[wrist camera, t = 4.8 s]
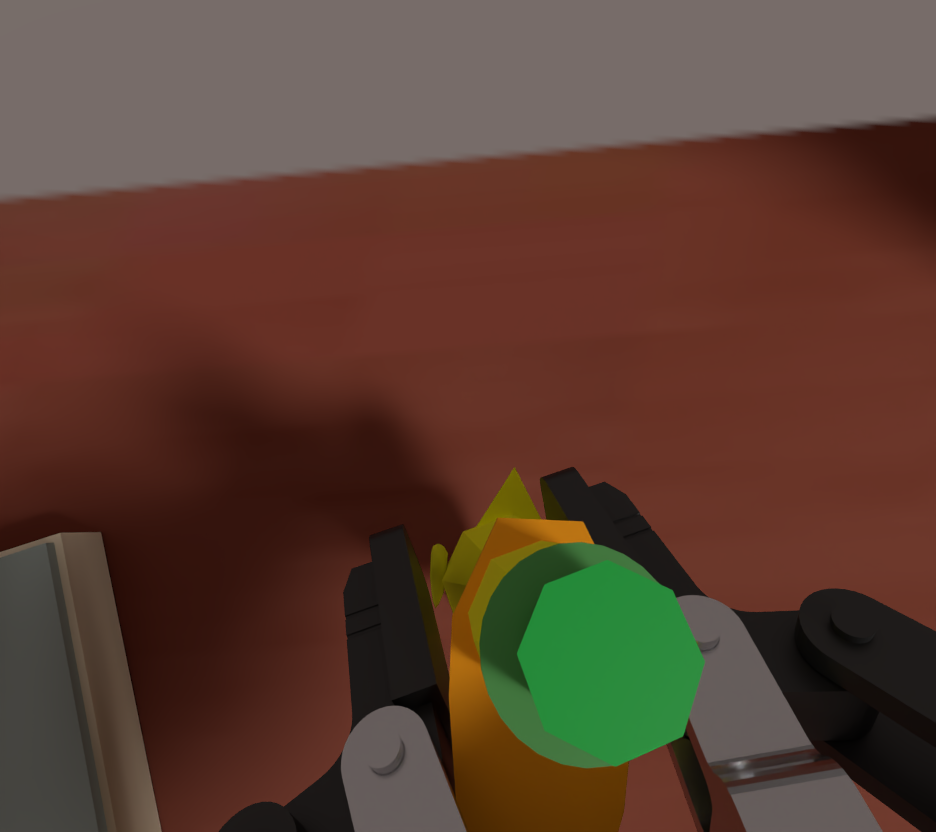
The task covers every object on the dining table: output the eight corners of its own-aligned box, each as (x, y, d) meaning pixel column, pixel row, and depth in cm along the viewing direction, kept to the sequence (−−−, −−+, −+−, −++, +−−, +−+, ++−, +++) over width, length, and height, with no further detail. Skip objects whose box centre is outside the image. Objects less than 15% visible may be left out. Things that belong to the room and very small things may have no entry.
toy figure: (550, 720, 15) (874, 1350, 4) (426, 716, 15) (344, 1343, 4) (553, 484, 17) (795, 386, 5) (439, 479, 17) (411, 366, 5)
